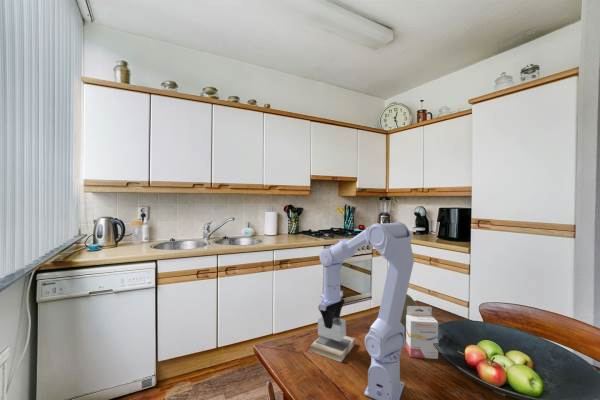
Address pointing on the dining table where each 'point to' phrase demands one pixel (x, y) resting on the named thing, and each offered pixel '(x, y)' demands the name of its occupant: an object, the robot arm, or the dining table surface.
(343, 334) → the housing
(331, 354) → the stand
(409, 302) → the fruit
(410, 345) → the ink cartridge box
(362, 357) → the dining table surface
